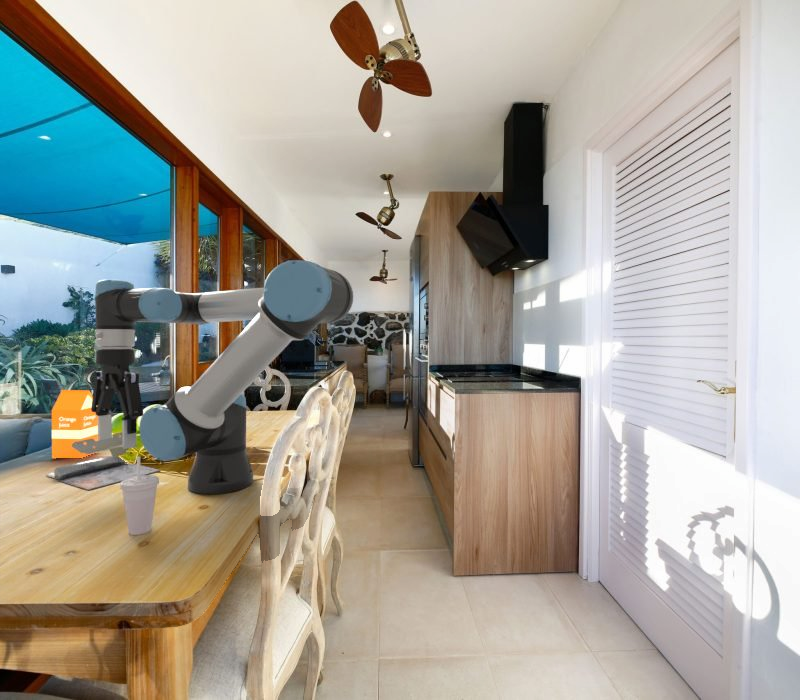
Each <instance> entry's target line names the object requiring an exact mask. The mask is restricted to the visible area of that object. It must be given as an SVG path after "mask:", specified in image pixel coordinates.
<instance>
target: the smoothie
mask: <svg viewBox="0 0 800 700" xmlns="http://www.w3.org/2000/svg"><path fill="white" fill-rule="evenodd" d="M136 464H137V476H135V477H131V478H127V479H125V480H123V481H122V482H119V486H120V487H119V489H120V490H122V496H123V497H122V498H123V503H124V510H125V517H126V524H127V530H128V534H129V535H131V536H139V535H144V534H147V533H150V532H151V531H152V527H153V518H154V511H155V504H156V498H157V497H156V496H157V495H156V494H157V488H158V485H159V484H160V480H159V479H160V478H159V476H158V475H152V474H148V475H142V476H140V465H141V456H140V455H138V456H136Z"/></svg>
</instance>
